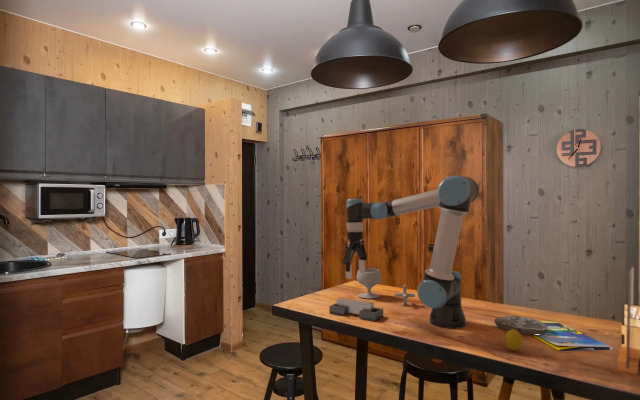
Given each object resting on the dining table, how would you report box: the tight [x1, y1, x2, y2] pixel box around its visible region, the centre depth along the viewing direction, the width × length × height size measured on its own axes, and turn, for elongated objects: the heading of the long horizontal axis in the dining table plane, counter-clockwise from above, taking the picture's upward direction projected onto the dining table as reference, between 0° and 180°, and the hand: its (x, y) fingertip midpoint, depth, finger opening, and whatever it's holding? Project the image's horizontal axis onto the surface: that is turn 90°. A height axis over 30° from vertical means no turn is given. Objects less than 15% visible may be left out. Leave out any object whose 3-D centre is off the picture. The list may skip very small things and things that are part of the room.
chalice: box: [356, 267, 382, 300], centre depth 214 cm, size 14×14×15 cm
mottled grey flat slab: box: [494, 315, 549, 336], centre depth 159 cm, size 20×17×3 cm
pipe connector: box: [394, 284, 416, 306], centre depth 196 cm, size 10×10×10 cm
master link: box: [336, 297, 375, 315], centre depth 180 cm, size 18×4×6 cm, turn 58°
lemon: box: [504, 329, 523, 352], centre depth 135 cm, size 6×6×8 cm
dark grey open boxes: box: [329, 302, 384, 322], centre depth 180 cm, size 24×9×4 cm, turn 58°
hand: (355, 275), depth 180 cm, fingers open, 13 cm apart
